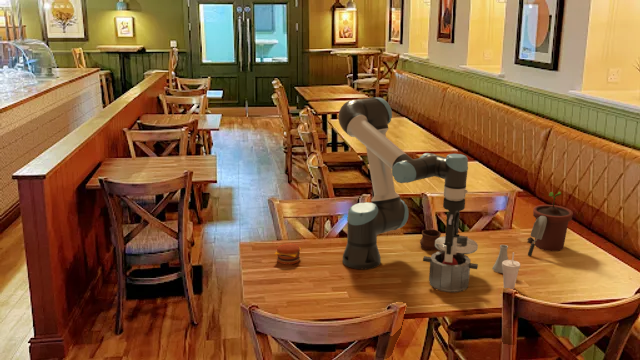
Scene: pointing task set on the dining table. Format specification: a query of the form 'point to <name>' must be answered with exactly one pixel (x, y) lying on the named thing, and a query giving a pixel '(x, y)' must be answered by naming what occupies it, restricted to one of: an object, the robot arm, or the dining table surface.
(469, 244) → the lid
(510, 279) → the smoothie
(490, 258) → the dining table surface
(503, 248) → the flask
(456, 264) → the onion
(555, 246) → the potted plant
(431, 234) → the ceramic pot
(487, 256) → the dining table surface
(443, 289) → the pot
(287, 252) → the hamburger
